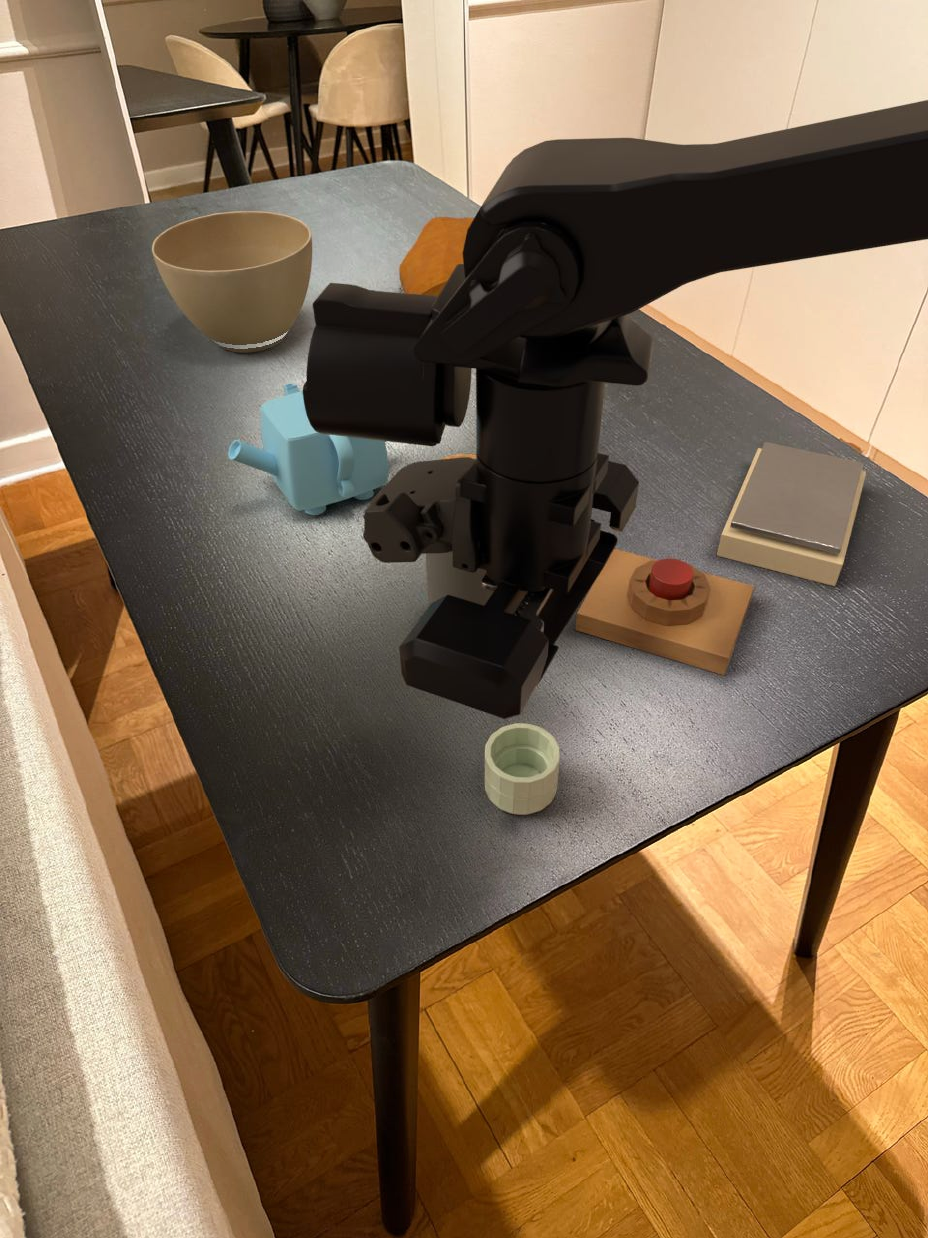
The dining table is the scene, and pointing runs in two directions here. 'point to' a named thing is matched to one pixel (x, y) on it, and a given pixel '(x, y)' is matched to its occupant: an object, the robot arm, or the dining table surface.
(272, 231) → the deep tan bowl
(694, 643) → the block
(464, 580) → the bottle
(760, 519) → the pan
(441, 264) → the bread
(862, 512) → the dining table surface
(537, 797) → the mint green cup
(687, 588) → the tare button
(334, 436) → the teapot
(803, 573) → the scale
